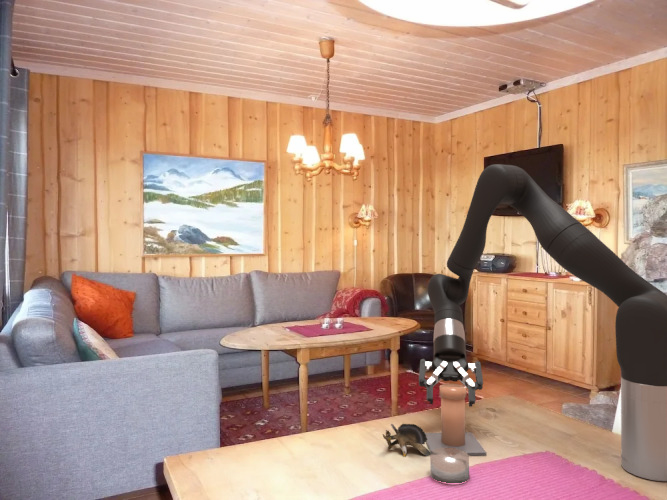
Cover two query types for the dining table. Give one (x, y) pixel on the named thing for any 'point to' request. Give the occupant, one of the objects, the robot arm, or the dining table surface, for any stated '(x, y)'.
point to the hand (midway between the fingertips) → (451, 403)
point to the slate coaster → (469, 447)
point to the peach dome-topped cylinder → (453, 414)
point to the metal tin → (449, 465)
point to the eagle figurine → (408, 438)
